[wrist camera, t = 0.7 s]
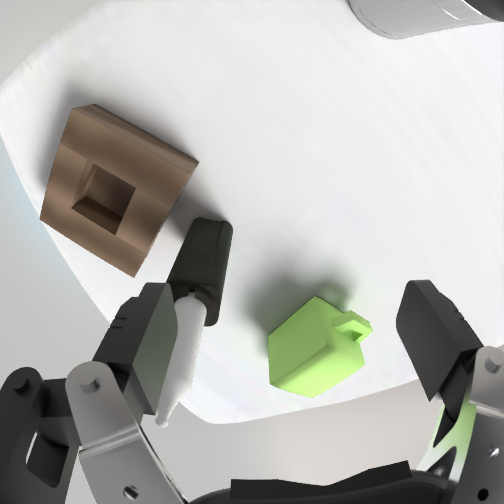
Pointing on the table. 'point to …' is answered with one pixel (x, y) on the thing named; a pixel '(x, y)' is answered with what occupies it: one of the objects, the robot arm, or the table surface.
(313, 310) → the green square pitcher
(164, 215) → the holder
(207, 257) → the candle
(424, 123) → the table surface
